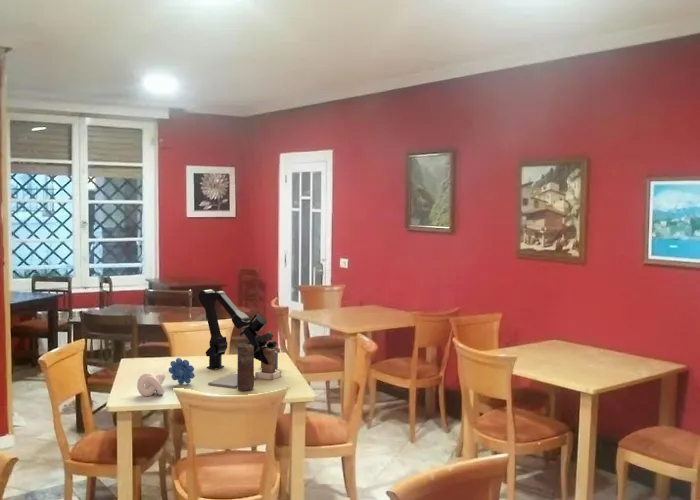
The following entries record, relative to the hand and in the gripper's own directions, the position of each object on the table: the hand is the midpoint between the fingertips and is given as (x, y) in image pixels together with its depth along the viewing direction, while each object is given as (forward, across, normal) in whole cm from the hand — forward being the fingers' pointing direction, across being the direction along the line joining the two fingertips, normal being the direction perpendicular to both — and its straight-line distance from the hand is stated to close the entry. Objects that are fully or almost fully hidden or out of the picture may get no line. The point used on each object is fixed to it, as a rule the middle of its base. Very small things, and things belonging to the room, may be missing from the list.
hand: (270, 363), depth 330 cm
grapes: (-12, -34, +22) cm, 42 cm away
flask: (-3, +13, +13) cm, 19 cm away
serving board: (-1, -16, +11) cm, 20 cm away
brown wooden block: (+4, 0, +6) cm, 7 cm away
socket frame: (+4, 0, +6) cm, 7 cm away
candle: (+8, -23, +2) cm, 25 cm away
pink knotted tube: (-10, -52, +20) cm, 57 cm away
